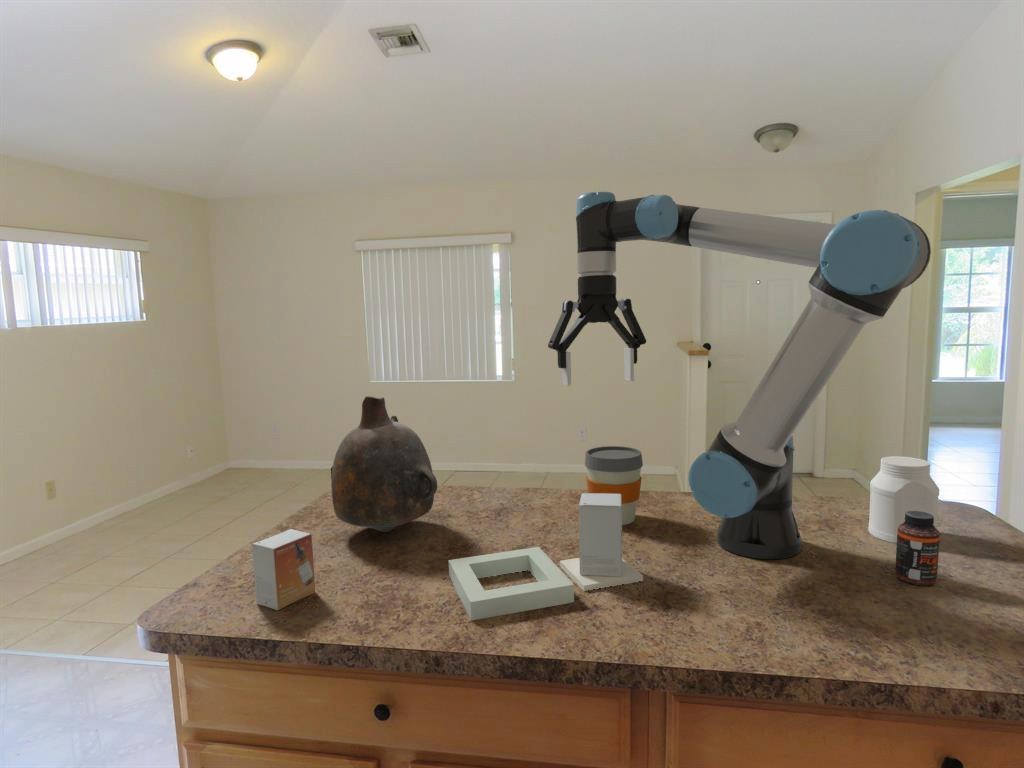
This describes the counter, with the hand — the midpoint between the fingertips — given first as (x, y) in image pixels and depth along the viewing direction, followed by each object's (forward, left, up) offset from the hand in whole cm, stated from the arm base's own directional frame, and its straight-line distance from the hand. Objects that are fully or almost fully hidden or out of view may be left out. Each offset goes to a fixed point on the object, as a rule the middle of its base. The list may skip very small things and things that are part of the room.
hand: (598, 382), depth 127 cm
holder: (+25, +17, -32) cm, 44 cm away
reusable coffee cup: (-7, -8, -32) cm, 34 cm away
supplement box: (+8, +17, -31) cm, 36 cm away
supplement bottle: (-40, +38, -32) cm, 64 cm away
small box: (+61, +7, -32) cm, 69 cm away
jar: (-55, +22, -32) cm, 67 cm away
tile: (+8, +17, -32) cm, 37 cm away
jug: (+42, -19, -32) cm, 56 cm away
